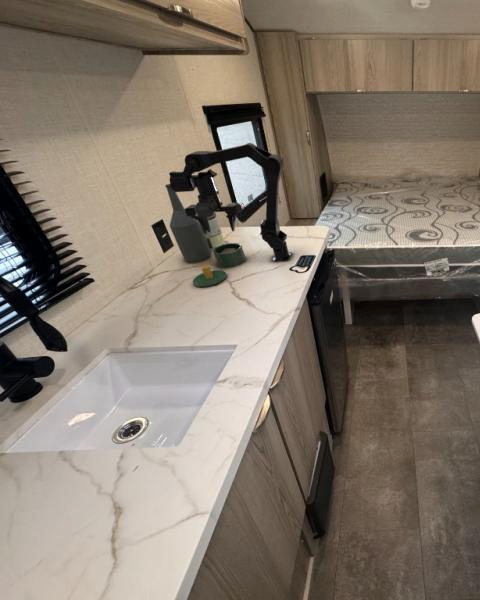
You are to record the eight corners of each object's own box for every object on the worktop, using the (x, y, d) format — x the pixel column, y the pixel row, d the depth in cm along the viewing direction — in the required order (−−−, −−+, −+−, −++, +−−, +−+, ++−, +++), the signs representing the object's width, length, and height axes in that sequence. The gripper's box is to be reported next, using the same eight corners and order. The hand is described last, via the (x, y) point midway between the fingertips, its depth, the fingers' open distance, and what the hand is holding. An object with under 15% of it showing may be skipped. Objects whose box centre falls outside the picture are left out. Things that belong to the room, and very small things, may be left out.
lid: (202, 273, 124) (197, 260, 121) (231, 272, 125) (227, 259, 121) (187, 288, 115) (181, 274, 112) (219, 287, 115) (213, 273, 112)
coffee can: (200, 252, 141) (188, 221, 133) (201, 244, 148) (189, 214, 141) (226, 247, 144) (215, 216, 136) (226, 239, 152) (215, 210, 144)
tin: (224, 256, 137) (220, 243, 133) (249, 255, 137) (245, 242, 133) (213, 268, 128) (208, 254, 125) (240, 267, 128) (235, 253, 125)
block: (228, 258, 134) (225, 248, 131) (239, 258, 134) (236, 248, 131) (224, 263, 130) (220, 253, 128) (235, 263, 130) (231, 252, 128)
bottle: (180, 263, 132) (146, 188, 115) (191, 253, 140) (161, 181, 124) (206, 262, 132) (176, 187, 116) (216, 252, 141) (189, 180, 124)
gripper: (168, 197, 110) (186, 240, 118) (223, 195, 110) (237, 238, 118) (185, 189, 119) (201, 229, 128) (236, 187, 119) (248, 227, 128)
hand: (221, 231), depth 125 cm, fingers open, 9 cm apart
